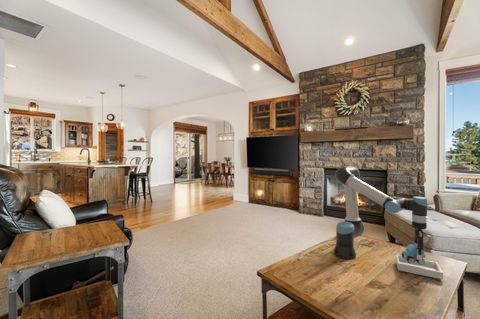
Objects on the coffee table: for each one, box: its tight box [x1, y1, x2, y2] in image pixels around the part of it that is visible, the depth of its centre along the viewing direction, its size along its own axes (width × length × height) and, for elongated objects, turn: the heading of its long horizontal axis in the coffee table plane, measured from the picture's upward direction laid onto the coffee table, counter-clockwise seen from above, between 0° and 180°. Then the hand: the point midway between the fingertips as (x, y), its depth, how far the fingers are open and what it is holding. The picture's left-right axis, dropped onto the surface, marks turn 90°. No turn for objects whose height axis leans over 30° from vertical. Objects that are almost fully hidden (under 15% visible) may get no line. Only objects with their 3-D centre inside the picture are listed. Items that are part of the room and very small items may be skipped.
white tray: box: [395, 254, 444, 282], centre depth 150 cm, size 22×15×6 cm
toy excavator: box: [401, 234, 435, 265], centre depth 150 cm, size 9×17×17 cm, turn 78°
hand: (418, 256), depth 150 cm, fingers closed on toy excavator, 9 cm apart
